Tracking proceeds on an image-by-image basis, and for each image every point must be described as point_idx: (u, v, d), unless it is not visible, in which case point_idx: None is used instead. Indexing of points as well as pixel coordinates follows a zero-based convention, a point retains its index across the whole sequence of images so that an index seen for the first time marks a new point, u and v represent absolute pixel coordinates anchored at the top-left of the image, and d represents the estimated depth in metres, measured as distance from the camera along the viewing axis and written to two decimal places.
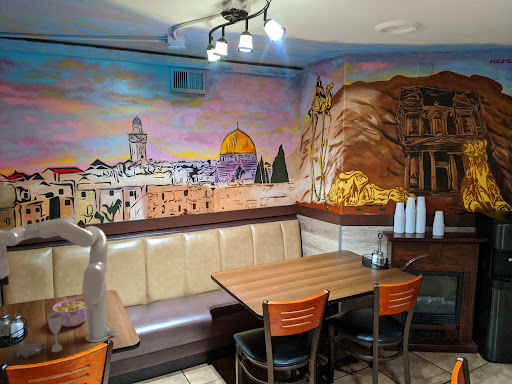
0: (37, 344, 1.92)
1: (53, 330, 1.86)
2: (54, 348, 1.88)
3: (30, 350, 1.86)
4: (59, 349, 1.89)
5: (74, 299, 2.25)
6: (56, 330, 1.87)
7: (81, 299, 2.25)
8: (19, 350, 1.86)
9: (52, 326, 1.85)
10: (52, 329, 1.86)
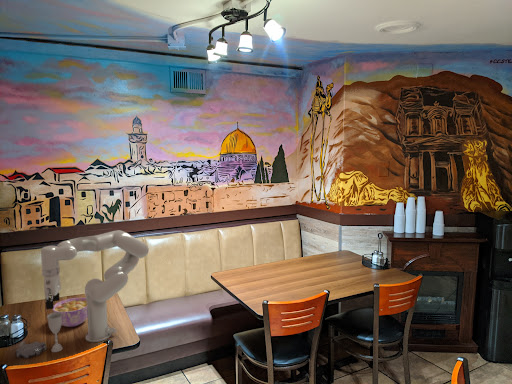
0: (37, 344, 1.92)
1: (53, 330, 1.86)
2: (54, 348, 1.88)
3: (30, 350, 1.86)
4: (59, 349, 1.89)
5: (74, 299, 2.25)
6: (56, 330, 1.87)
7: (81, 299, 2.25)
8: (19, 350, 1.86)
9: (52, 326, 1.85)
10: (52, 329, 1.86)
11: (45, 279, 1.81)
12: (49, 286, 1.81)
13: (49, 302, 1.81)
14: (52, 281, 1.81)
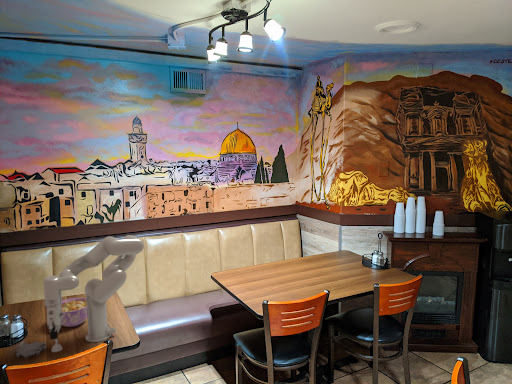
0: (37, 344, 1.92)
1: None
2: (54, 348, 1.88)
3: (30, 350, 1.86)
4: (59, 349, 1.89)
5: (74, 299, 2.25)
6: (56, 330, 1.87)
7: (81, 299, 2.25)
8: (19, 350, 1.86)
9: None
10: None
11: (48, 309, 1.83)
12: (52, 316, 1.83)
13: (53, 332, 1.85)
14: (55, 311, 1.83)
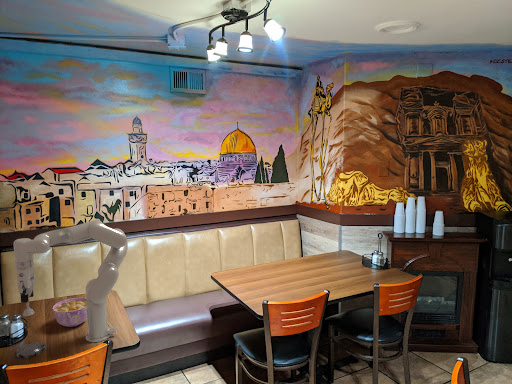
0: (37, 344, 1.92)
1: None
2: (25, 312, 1.84)
3: (30, 350, 1.86)
4: (30, 313, 1.85)
5: (74, 299, 2.25)
6: (27, 293, 1.83)
7: (81, 299, 2.25)
8: (19, 350, 1.86)
9: (23, 289, 1.81)
10: None
11: (18, 272, 1.79)
12: (22, 279, 1.79)
13: (24, 295, 1.81)
14: (25, 274, 1.79)
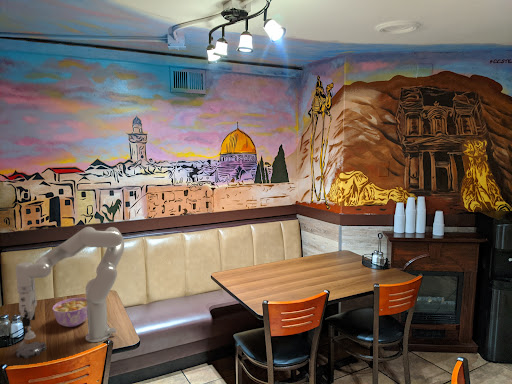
0: (37, 344, 1.92)
1: None
2: (27, 336, 1.85)
3: (30, 350, 1.86)
4: (32, 337, 1.86)
5: (74, 299, 2.25)
6: (29, 317, 1.84)
7: (81, 299, 2.25)
8: (19, 350, 1.86)
9: None
10: None
11: (20, 296, 1.80)
12: (24, 303, 1.80)
13: (25, 319, 1.82)
14: (27, 298, 1.81)
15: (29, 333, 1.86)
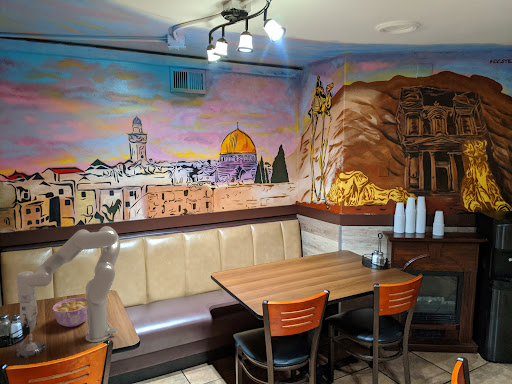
0: (37, 344, 1.92)
1: None
2: (28, 347, 1.86)
3: None
4: (33, 348, 1.87)
5: (74, 299, 2.25)
6: (30, 328, 1.85)
7: (81, 299, 2.25)
8: (19, 350, 1.86)
9: None
10: None
11: (21, 305, 1.81)
12: (25, 312, 1.81)
13: (25, 328, 1.81)
14: (28, 307, 1.81)
15: (31, 344, 1.87)
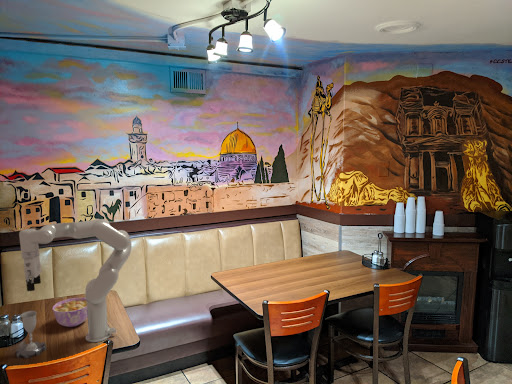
0: (37, 344, 1.92)
1: (27, 329, 1.85)
2: (28, 347, 1.86)
3: None
4: (33, 348, 1.87)
5: (74, 299, 2.25)
6: (30, 329, 1.85)
7: (81, 299, 2.25)
8: (19, 350, 1.86)
9: (26, 325, 1.84)
10: (26, 328, 1.84)
11: (25, 261, 1.82)
12: (29, 268, 1.82)
13: (30, 284, 1.82)
14: (32, 263, 1.83)
15: (31, 344, 1.87)
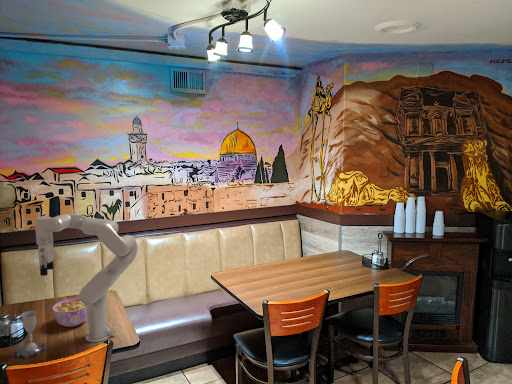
0: (37, 344, 1.92)
1: (27, 329, 1.85)
2: (28, 347, 1.86)
3: None
4: (33, 348, 1.87)
5: (74, 299, 2.25)
6: (30, 329, 1.85)
7: None
8: (19, 350, 1.86)
9: (26, 325, 1.84)
10: (26, 328, 1.84)
11: (39, 247, 1.91)
12: (43, 254, 1.91)
13: (43, 269, 1.91)
14: (46, 249, 1.91)
15: (31, 344, 1.87)
